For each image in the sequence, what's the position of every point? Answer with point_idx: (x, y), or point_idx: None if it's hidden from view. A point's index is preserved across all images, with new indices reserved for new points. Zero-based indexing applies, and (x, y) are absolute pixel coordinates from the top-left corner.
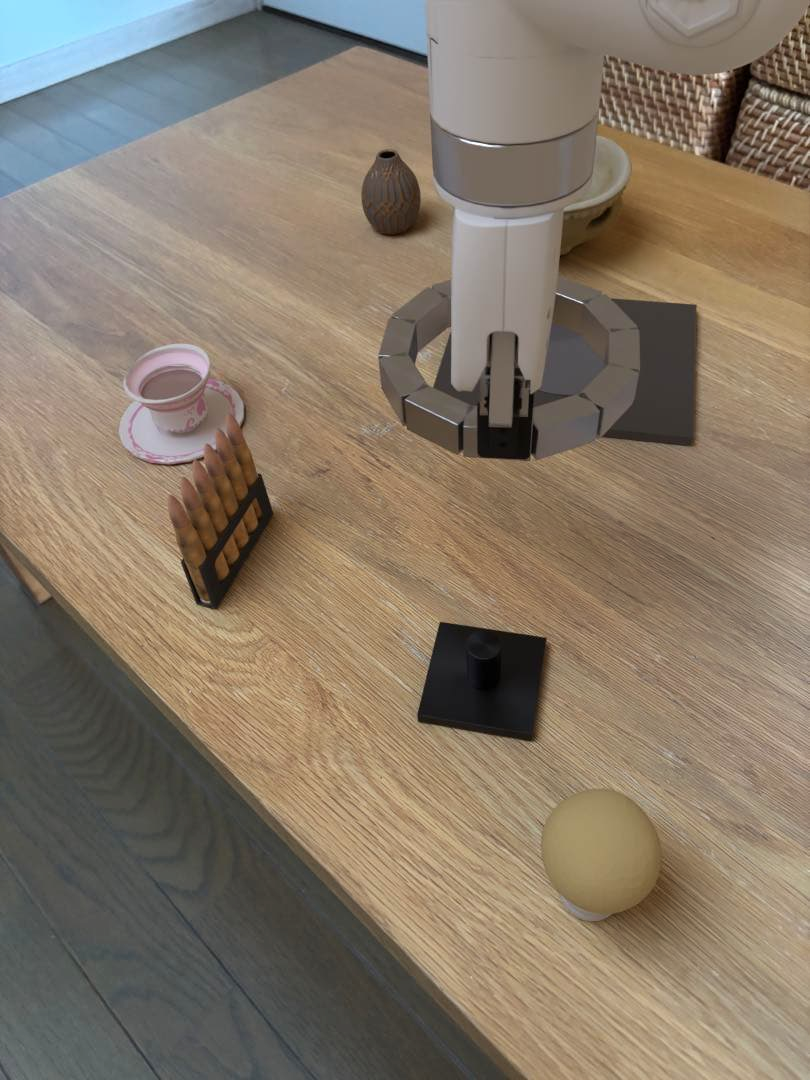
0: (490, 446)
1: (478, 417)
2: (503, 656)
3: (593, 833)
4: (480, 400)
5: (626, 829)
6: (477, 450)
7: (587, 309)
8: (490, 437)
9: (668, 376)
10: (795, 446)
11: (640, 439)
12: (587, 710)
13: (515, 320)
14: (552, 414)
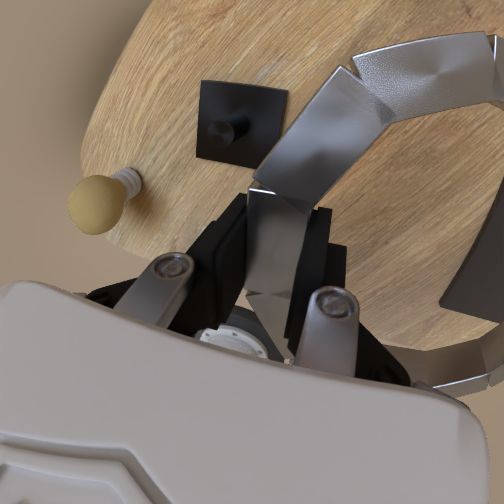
0: (208, 226)
1: (206, 235)
2: (254, 140)
3: (73, 212)
4: (137, 280)
5: (80, 226)
6: (236, 196)
7: (477, 375)
8: (198, 237)
9: (493, 306)
10: (414, 345)
11: (456, 275)
12: (225, 190)
13: None
14: (279, 318)
